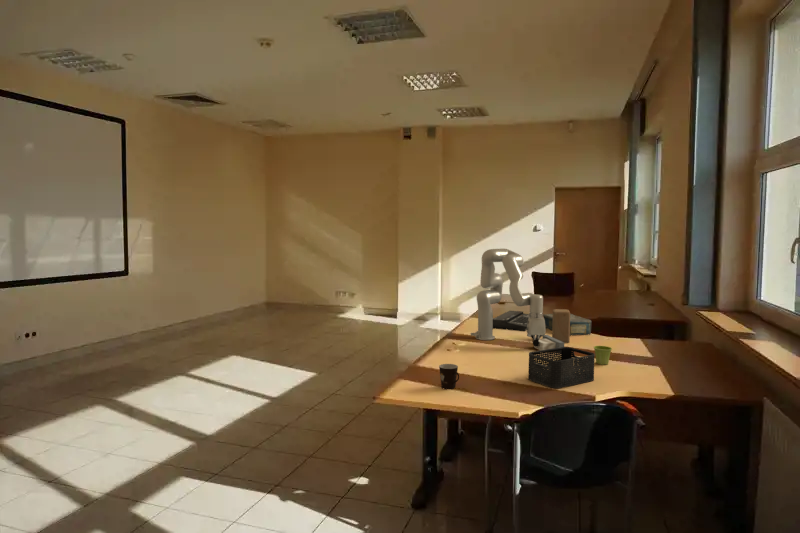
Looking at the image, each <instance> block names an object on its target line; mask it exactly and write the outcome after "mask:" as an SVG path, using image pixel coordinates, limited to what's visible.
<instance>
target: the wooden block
mask: <svg viewBox="0 0 800 533" xmlns="http://www.w3.org/2000/svg"><path fill="white" fill-rule="evenodd" d="M552 314H553V320H552V330H551V334H552V335H551V337H553V338H555V339H557V340H560V341H562V342H564V344H568V343H570V314H571V312H570V310H569V309H565V308H564V309H563V308H562V309H561V308H557V309H556V308H555V309H554V308H553V309H552Z"/></svg>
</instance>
